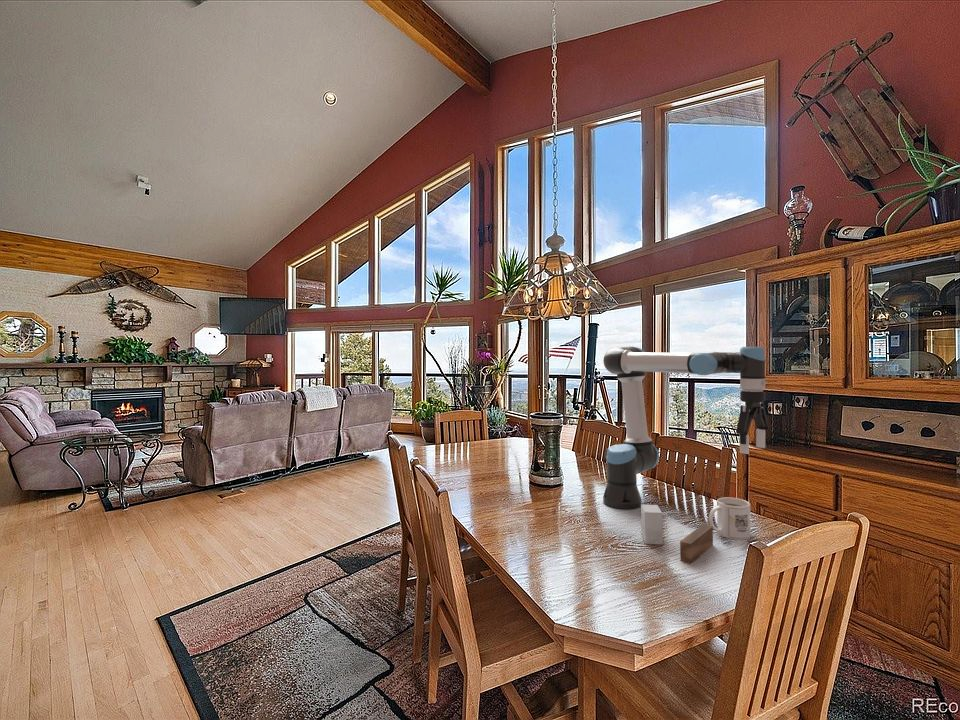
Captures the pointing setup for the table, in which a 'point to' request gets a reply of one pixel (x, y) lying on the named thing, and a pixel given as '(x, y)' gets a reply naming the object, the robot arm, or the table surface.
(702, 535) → the board
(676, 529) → the table surface
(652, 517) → the small box
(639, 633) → the table surface
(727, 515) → the mug
